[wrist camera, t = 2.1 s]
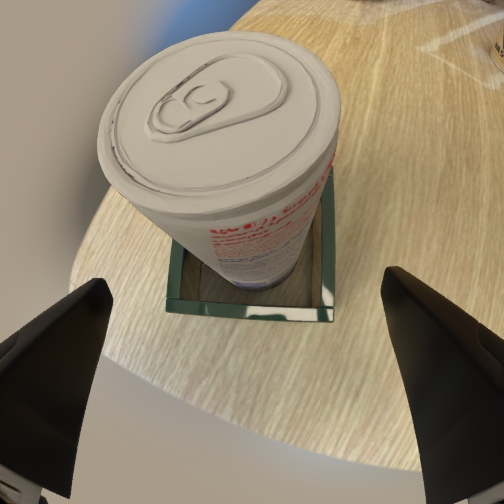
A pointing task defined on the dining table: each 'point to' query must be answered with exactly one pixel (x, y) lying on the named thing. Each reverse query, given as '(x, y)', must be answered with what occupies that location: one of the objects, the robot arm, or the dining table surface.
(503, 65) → the coffee cup
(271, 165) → the beverage can
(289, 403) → the dining table surface
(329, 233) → the caddy
